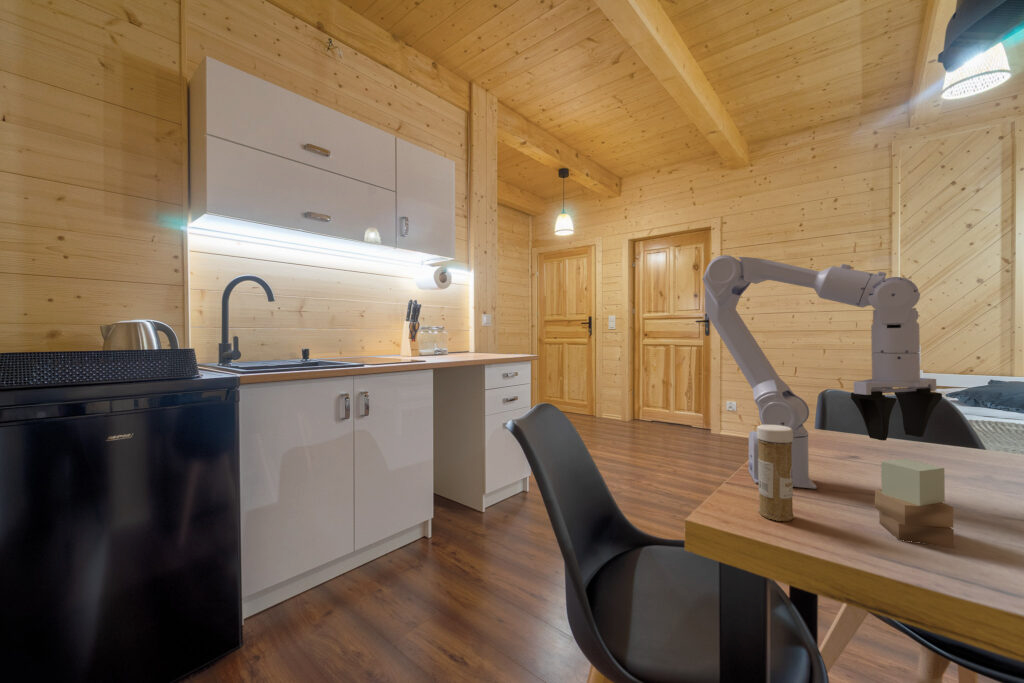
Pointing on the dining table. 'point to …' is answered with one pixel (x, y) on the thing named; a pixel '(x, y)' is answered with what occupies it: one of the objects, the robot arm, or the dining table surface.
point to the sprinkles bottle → (775, 472)
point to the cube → (913, 481)
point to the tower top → (914, 511)
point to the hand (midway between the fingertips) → (896, 437)
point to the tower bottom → (918, 532)
